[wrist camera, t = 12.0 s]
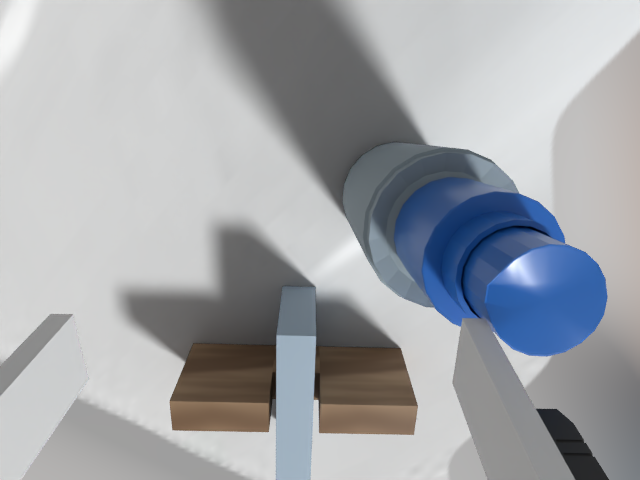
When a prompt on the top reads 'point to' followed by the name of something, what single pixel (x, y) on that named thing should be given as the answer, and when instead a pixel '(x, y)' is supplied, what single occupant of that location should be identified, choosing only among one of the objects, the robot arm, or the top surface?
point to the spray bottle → (472, 246)
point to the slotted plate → (295, 382)
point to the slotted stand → (260, 388)
